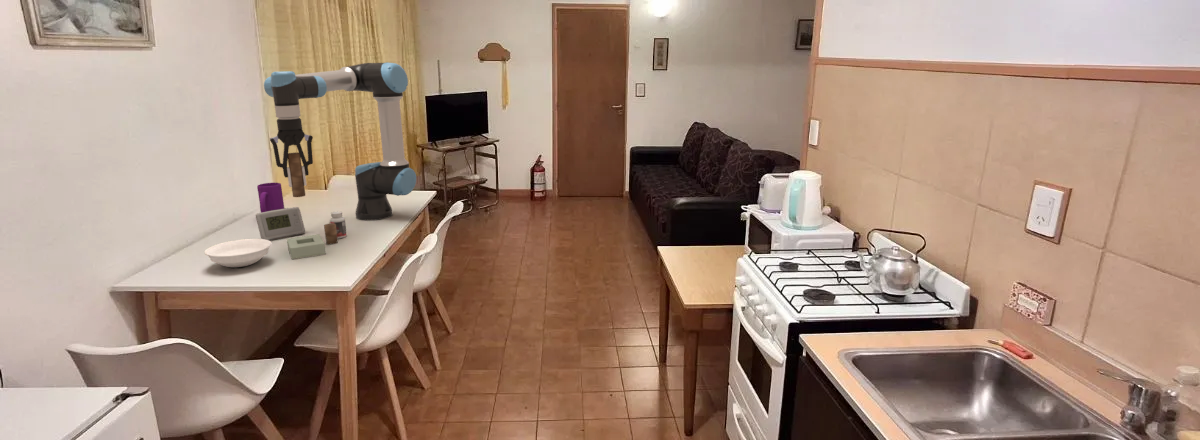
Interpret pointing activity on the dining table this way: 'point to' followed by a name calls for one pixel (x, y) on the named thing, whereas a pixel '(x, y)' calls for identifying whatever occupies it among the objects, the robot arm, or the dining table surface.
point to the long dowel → (296, 174)
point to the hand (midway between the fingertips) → (297, 185)
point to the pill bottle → (339, 224)
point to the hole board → (306, 246)
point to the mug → (270, 197)
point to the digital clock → (280, 223)
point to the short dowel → (330, 233)
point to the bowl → (238, 252)
